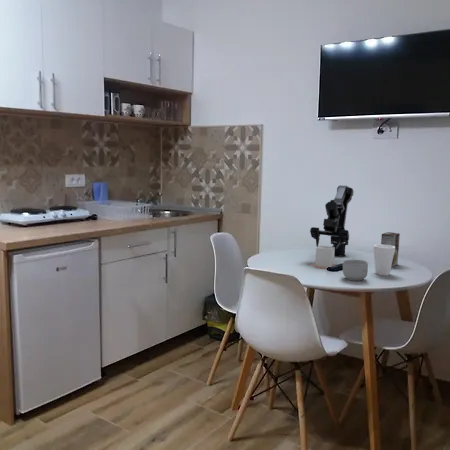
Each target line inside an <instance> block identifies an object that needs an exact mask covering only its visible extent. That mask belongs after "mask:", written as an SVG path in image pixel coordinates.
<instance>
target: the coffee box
mask: <svg viewBox="0 0 450 450" xmlns="http://www.w3.org/2000/svg"><path fill="white" fill-rule="evenodd" d="M400 234H401V233H397V232H389V231H387V232H384V233H381V238H380V241H381V242H380V244H382V245H391V246H394V247H395V253H394V256H393V261H392V265H391V268H392V267H394V266H397V265H398V264H399V263H398V261H399V251H400V250H399V249H400V236H401V235H400Z"/></svg>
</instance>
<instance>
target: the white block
mask: <svg viewBox="0 0 450 450" xmlns="http://www.w3.org/2000/svg"><path fill="white" fill-rule="evenodd" d="M334 253H335V247H332V246H327V245H318V247H317V246H316V248H315V262H314V263H315V266H318V267H326V268H328V267H332V266H333V265H334V264H335V256H334Z"/></svg>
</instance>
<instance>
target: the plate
mask: <svg viewBox="0 0 450 450" xmlns="http://www.w3.org/2000/svg"><path fill="white" fill-rule="evenodd" d="M315 263H316V262H314V263H311V264H310V265H311V266H312V267H314V268H318V269H323V270H325V269H327V268H326V267H318V266H315ZM336 265H337V264H335V263H334V265H333V266H336ZM327 270H328V269H327Z"/></svg>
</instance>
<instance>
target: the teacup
mask: <svg viewBox="0 0 450 450" xmlns="http://www.w3.org/2000/svg"><path fill="white" fill-rule="evenodd" d="M368 265H369V262H368V261H367V260H364V259H355V258H352V259H346V260H343V261H342V273H343V277H345V278H346V279H347V280H349V281H355V282H357V281H363V280H364V279H366V277H367V276H368V270H369V266H368Z"/></svg>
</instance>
